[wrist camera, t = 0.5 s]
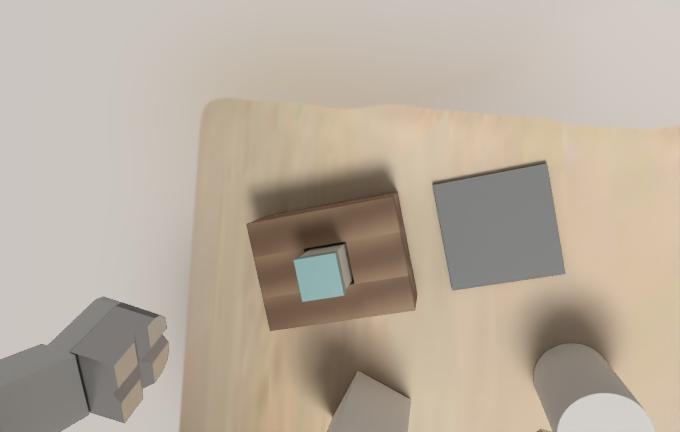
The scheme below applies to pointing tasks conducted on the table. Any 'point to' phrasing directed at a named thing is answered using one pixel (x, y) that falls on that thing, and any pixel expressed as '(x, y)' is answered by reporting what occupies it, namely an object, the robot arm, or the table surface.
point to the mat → (499, 227)
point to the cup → (586, 393)
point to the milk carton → (371, 408)
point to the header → (364, 253)
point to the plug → (324, 272)
